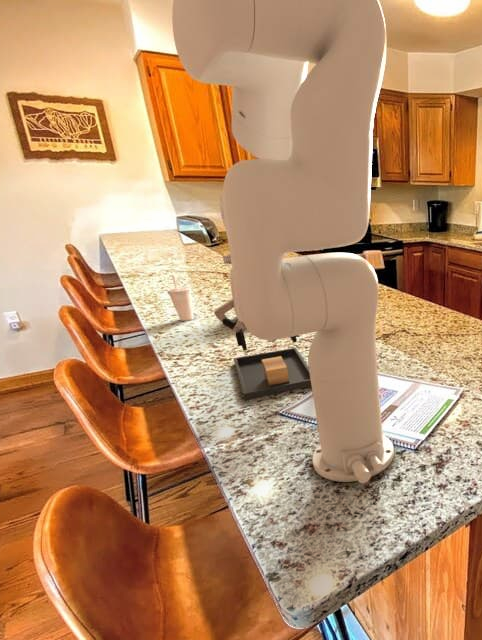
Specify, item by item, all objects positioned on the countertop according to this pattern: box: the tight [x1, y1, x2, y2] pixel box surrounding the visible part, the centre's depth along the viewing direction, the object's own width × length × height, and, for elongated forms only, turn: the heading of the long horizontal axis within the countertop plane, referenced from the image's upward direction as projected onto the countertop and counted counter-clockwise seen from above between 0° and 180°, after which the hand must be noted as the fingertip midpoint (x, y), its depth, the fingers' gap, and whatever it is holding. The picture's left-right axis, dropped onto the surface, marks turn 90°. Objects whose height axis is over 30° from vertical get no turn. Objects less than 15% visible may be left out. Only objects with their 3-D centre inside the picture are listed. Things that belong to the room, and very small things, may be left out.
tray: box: [233, 347, 312, 402], centre depth 95 cm, size 21×14×2 cm
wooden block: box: [262, 356, 290, 387], centre depth 91 cm, size 7×4×4 cm, turn 30°
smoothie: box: [166, 274, 195, 322], centre depth 133 cm, size 6×6×14 cm
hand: (269, 344), depth 88 cm, fingers open, 9 cm apart
